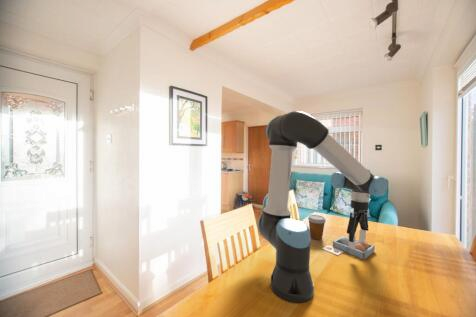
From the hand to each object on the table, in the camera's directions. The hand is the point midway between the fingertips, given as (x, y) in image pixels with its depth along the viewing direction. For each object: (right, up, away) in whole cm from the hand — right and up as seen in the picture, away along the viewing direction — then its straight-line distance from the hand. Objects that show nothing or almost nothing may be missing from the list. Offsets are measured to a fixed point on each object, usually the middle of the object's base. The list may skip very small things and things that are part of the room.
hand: (357, 245), depth 97 cm
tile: (-10, -4, +4) cm, 11 cm away
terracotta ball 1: (+1, -4, +1) cm, 5 cm away
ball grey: (-1, -4, +8) cm, 10 cm away
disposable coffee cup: (-12, -4, +19) cm, 23 cm away
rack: (+1, -4, +6) cm, 7 cm away
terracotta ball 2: (+5, -5, +4) cm, 8 cm away
